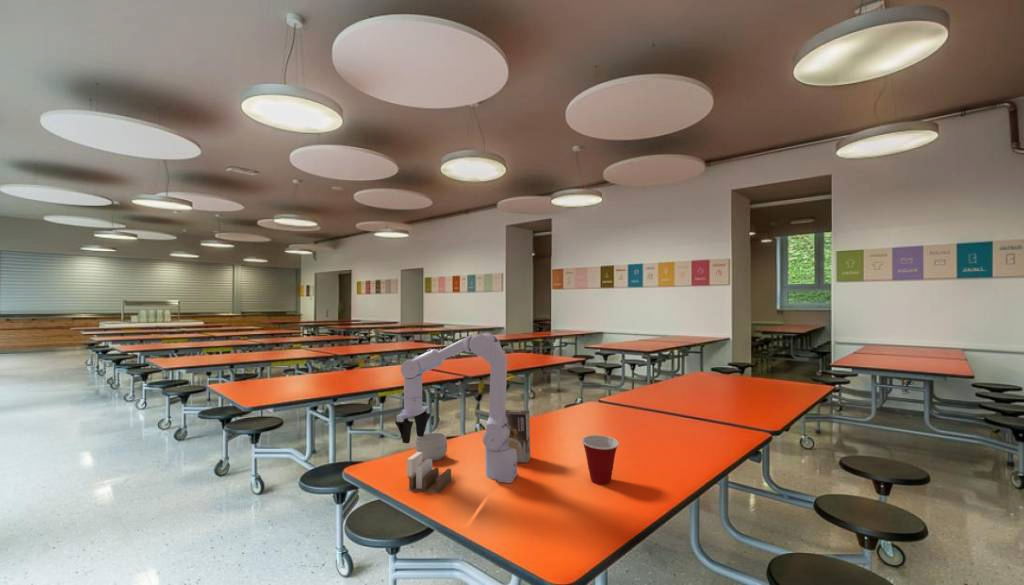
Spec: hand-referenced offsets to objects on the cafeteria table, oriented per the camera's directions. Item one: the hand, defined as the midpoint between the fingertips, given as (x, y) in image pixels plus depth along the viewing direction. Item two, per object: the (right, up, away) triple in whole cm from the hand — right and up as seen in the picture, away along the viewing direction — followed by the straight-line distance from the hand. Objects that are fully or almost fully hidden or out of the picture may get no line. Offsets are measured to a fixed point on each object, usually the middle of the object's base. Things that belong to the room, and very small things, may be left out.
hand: (413, 439), depth 138 cm
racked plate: (+6, -9, -13) cm, 17 cm away
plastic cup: (+58, -9, -11) cm, 60 cm away
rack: (+8, -9, -13) cm, 18 cm away
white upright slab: (+1, -10, -4) cm, 11 cm away
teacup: (+4, -11, +12) cm, 17 cm away
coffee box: (+33, -10, +9) cm, 36 cm away
